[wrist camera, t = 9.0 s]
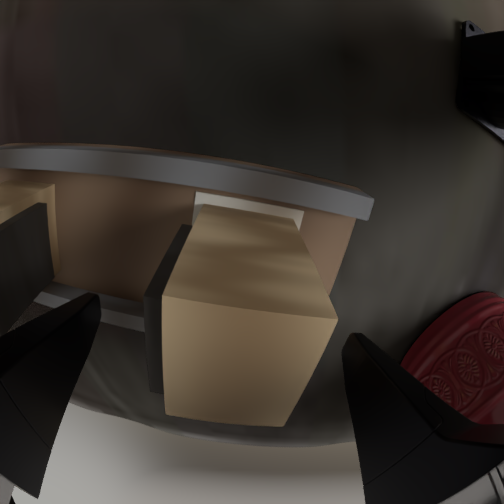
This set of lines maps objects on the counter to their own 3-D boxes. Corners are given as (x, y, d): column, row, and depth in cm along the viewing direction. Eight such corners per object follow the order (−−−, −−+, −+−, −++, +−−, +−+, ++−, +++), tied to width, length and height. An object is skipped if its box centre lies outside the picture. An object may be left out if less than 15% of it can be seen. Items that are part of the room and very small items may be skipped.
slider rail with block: (356, 187, 13) (458, 263, 6) (307, 330, 17) (335, 445, 10) (8, 143, 11) (-93, 180, 4) (20, 273, 15) (-46, 344, 8)
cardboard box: (293, 218, 13) (338, 319, 6) (269, 309, 15) (283, 426, 8) (190, 201, 12) (136, 290, 6) (181, 295, 14) (148, 410, 8)
